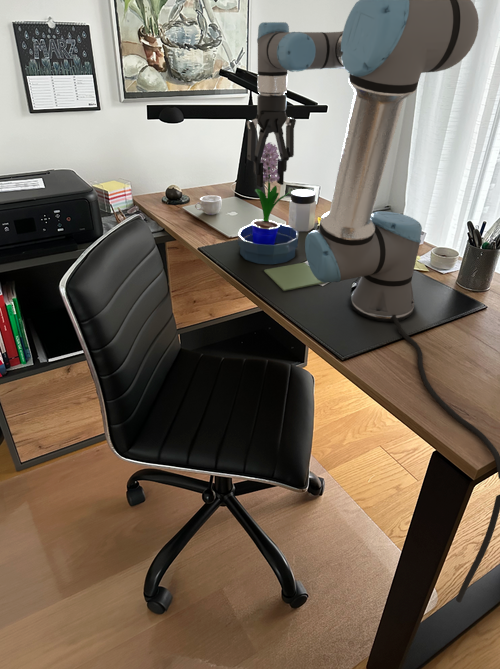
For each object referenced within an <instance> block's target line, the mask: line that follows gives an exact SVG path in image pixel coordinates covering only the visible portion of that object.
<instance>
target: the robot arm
mask: <svg viewBox="0 0 500 669" xmlns="http://www.w3.org/2000/svg"><path fill="white" fill-rule="evenodd" d="M479 21H480V19H479V13H478V10H477V8H476V6H475V3H474V2H473V1H472V0H358V1H356V2H355V3H354V5H353V7H352V8H351V10H350V12H349V14H348V16H347V18H346V21H345V23H344V27H343V30H341V31H325V32H324V31H303V32H302V31H291V32H290V26H289V24H288V23H287V22H286V21H285V22H284V21H283V22H282V21H280V22H279V21H278V22H277V21H273V22H271V21H270V22H268V21H265V22H260V23H259V25H258V28H257V39H256V42H257V92H258V93H259V94H257V100H256V101H257V107H256V110H257V113H256V117H255V118H254V119H252V120H246V122H245V123H246V127H247V150H246V151H247V152H246V159H247V160H249V161H251V162H253V173H254V175H255V176H256V186H257V187H258V188H264V183H263V163H262V162H261V159H262V154H263V150H264V147H265V144H267V139H268V138H269V134H274V137H275V141H276V144H277V149H278V152H279V153H278V155H279V159H278V158H277V160H278V161H277V166H276V168H277V170H278V171H277V172H278V174H277V175H279V177H280V178H279V180H278V179H277V180H276V181H277V182H276V184H279V185H280V186H283V185H284V182H285V181H284V178H285V177H284V176H285V172H287V169H288V168H287V167H288V162H289V160H290V158H293V157H294V156H295V151H294V150H295V126H296V123H297V120H296V119H295V118H294V117H290V116H289V117H288V115H287V113H286V110H287V95H286V94H285V93H287V91H288V72H291V73H294V72H296V73H298V72H303V71H310V70H315V71H316V70H345V71H346V72H347V73H348V74H349V75H348V83H349V85H350V86H351V88H352V89H353V92H354V95H353V99H352V102H351V103H352V104H351V109H350V114H349V118H348V123H347V127H346V133H345V137H344V140H343V141H344V142H343V145H342V146H343V147H342V151H341V156H340V161H339V166H338V169H337V170H338V171H337V175H336V178H335V185H334V189H333V193H332V199H331V203H330V208H329V211H327V212H326V213H324V214H323V215H322V216H321V217H320V220H319V226H318V229H317V230H316V229H315V230H312V231H309V232H308V234H307V235H306V237H305V240H304V252H305V257H306V261H307V265H308V266H309V267H310V269H311V271H312V273H313V274H314V276H315V277H316V278H317V279H318V280H319V281H321V282H324V283H323V284H327V283H340V282H341V281H346V280H350V279H352V280H353V279H356V278H360V279H359V281H358V282H357V284H356V287H355V289H354V290H353V292H352V294H351V296H350V297H351V298H350V307H351V309H353V311H354V312H355V313H357V314H358V315H360V316H361V317H363V318H365V319H369V320H372V321H376V322H384V323H385V322H386V323H394V324H395V327H396V329H397V331H398V333H399V334H400V335H401V337H402V338H403V339H404V340H406V341H407V342H408V343H409V344H410V345H411V346H413V348H414V350H415V351H416V353H417V354H416V355H417V367H418V368H417V369H418V371H419V375H420V378H421V381H422V382H423V384H424V386H425V388H426V390H427V392H428V393H429V394H430V395H431V397H432V398H433V399H434V401H435V402H436V403H437V404H438V405H439V406H440V407H441V409H443V410H444V411H445V412H446V413H447V414H448V415H450V417H452V418H453V419H454V420H455V421H456V422H457V423H459V424H460V425H461V426H463V427H464V428H466V429H467V430H469V431H470V432H471V433H472V434H474V435H475V436H476V437H477V438H478V439H479V440H480V441H481V442H482V443H483V444H484V445H485V447H486V448H487V449H488V450H489V452H490V453H491V454H492V456H493V459H494V462H495V465H496V471H497V477H498V479H499V480H500V452H499V451H498V449H497V448H496V446H494V444H493V443H492V442H491V441H490V439H489V438H488V437H487V436H486V435H485V434H484V433H483V432H482V431H481V430H480V429H478V428H477V427H476V426H474V425H473V424H472V423H470V422H468V421H467V420H466V419H464V418H463V417H462V416H461V415H459V413H457V412H456V411H455V410H453V408H451V406H449V405H448V404H447V403H446V402H445V401H444V400H443V399H442V398H441V397H440V395H438V393H437V392H436V391H435V389H434V388H433V387H432V385H431V384H430V382H429V380H428V377H427V374H426V372H425V368H424V362H423V360H424V359H423V358H424V357H423V356H424V355H423V351H422V348H421V347H420V345H419V344H418V343H417V342H416V341H415V340H414V339H413V338H412V337H410V336H409V334H407V333H406V331H404V329H403V327H402V326H401V324H400V321H404V320H406V319H408V318H409V317H411V316H412V314H413V313H414V309H415V299H414V292H413V291H414V290H413V284H412V282H413V281H412V280H413V275H414V270H415V266H416V262H417V259H418V258H417V257H418V254H419V249H420V244H421V242H422V240H421V237H422V230H423V227H422V224H421V223H420V222H419V220H417V219H416V218H414V217H411V216H408V215H406V214H402V213H399V212H394V211H384V210H383V211H381V210H379V211H374V210H375V205H376V202H377V197H378V194H379V191H380V187H381V183H382V180H383V176H384V172H385V168H386V165H387V161H388V158H389V154H390V151H391V148H392V144H393V140H394V137H395V133H396V129H397V126H398V122H399V119H400V115H401V112H402V110H403V109H402V108H403V105H404V101H405V100H407V98H408V97H410V96H411V95H413V94H414V93H416V92H417V89H418V86H419V82H420V78H421V75H422V74H423V73H424V74H425V73H437V72H441V71H445V70H448V69H450V68H451V69H452V67H454V66H456V65H457V64H459V63H460V62H461V61H462V60H463V59H465V58H466V56H467V55H468V54H469V52H470V51H471V50H472V48H473V46H474V44H475V42H476V39H477V37H478V32H479V24H480V23H479ZM284 125H285V139H284V129H283V127H284ZM258 126H259V131H258V139H257V130H256V129H257V128H258ZM256 139H257V143H256ZM264 151H265V150H264ZM277 175H276V176H277ZM373 211H374V212H373ZM499 515H500V494H497V495H495V500H494V504H493V508H492V512H491V516H490V518H489V523H488V526H487V529H486V532H485V535H484V538H483V540H482V543H481V545H480V547H479V550H478V551H477V554H476V556H475V558H474V560H473V562H472V564H471V566H470V568H469V570H468V571H467V574H466V575H465V578H464V580H463V582H462V584H461V586H460V588H459V591H458V593H457V596H456V598H455V601H456V603H462V600H463V599H464V596H465V594H466V593H467V590H468V588H469V586H470V584H471V582H472V580H473V578H474V576H475V575H476V573H477V570H478V569H479V567H480V564H481V563H482V561H483V559H484V558H485V557H484V556H485V555H486V552H487V550H488V548H489V545H490V542H491V540H492V538H493V535H494V533H495V532H494V531H495V529H496V526H497V523H498V519H499Z"/></svg>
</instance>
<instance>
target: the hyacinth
mask: <svg viewBox="0 0 500 669" xmlns="http://www.w3.org/2000/svg"><path fill="white" fill-rule="evenodd" d="M278 159H280V154H279V149H278V146H276V144H274V143H273V142H267V143H265V147H264V150H263V154H262V158H261V162H262V163H263V186H265V185H266V184H267V195H266V194H265V193H264V192H263V191H262V190H261V189H260V188H255V189H254V191H253V192H255V193H256V194H257V196H258V197H259V202H260V206H261V209H262V214H263V215H262V216H263V219H255V220H253V221H252V222H251V224H252V228H253V243H256V244H267V245H275V244H276V243H275V239H276V235H277V231H278V227H279V224H280V223H279V222H278V223H279V224H278V223H277V221H276V222H275V221H272V220H270V216H271V213H272V211H273V209H274V207H275V206H276V204H278V203H279V202H280V201H281V200H282V199H284V198H286V197H287V196H288V195H289V194H291V191H288V192H287V193H285V194H284V195H282V196H280V197H279V198H278V196H279V192H277V191H278V187H277V185H274V186H273V187H272V188H271V184H273V183H274V182H275V183H277V179H278V180H279V178H280V177H279V175H277V174H278V172H277V171H278V170H277V163H278Z"/></svg>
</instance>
